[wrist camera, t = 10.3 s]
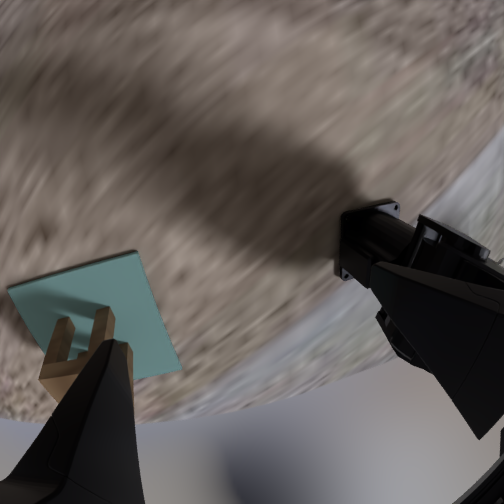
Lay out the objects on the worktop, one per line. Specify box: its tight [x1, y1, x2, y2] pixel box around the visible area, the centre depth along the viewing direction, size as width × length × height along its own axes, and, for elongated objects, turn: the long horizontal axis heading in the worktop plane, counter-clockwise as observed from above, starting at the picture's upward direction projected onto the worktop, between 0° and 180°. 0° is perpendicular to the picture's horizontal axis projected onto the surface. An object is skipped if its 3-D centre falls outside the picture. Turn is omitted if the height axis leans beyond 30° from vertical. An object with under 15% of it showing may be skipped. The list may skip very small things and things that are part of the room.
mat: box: [7, 251, 182, 380], centre depth 21 cm, size 12×12×1 cm
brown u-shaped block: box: [38, 306, 134, 406], centre depth 18 cm, size 5×5×7 cm
